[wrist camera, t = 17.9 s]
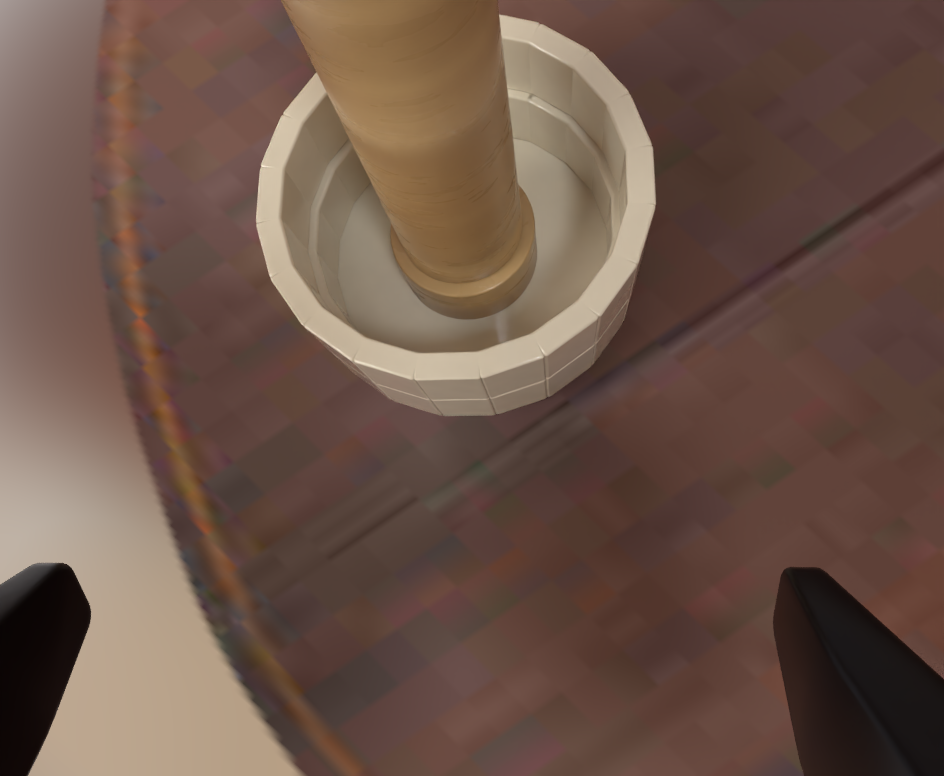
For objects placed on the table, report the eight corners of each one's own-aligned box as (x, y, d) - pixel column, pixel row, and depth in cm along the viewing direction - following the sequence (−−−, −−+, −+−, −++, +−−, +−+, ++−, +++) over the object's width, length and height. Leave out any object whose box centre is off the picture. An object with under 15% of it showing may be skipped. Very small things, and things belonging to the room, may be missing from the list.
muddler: (560, 282, 20) (560, -328, 6) (437, 343, 20) (173, -137, 6) (500, 173, 21) (387, -562, 7) (383, 231, 21) (50, -395, 7)
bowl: (509, 487, 19) (494, 463, 15) (256, 304, 21) (178, 237, 17) (699, 221, 20) (736, 128, 16) (441, 71, 22) (413, -49, 18)
